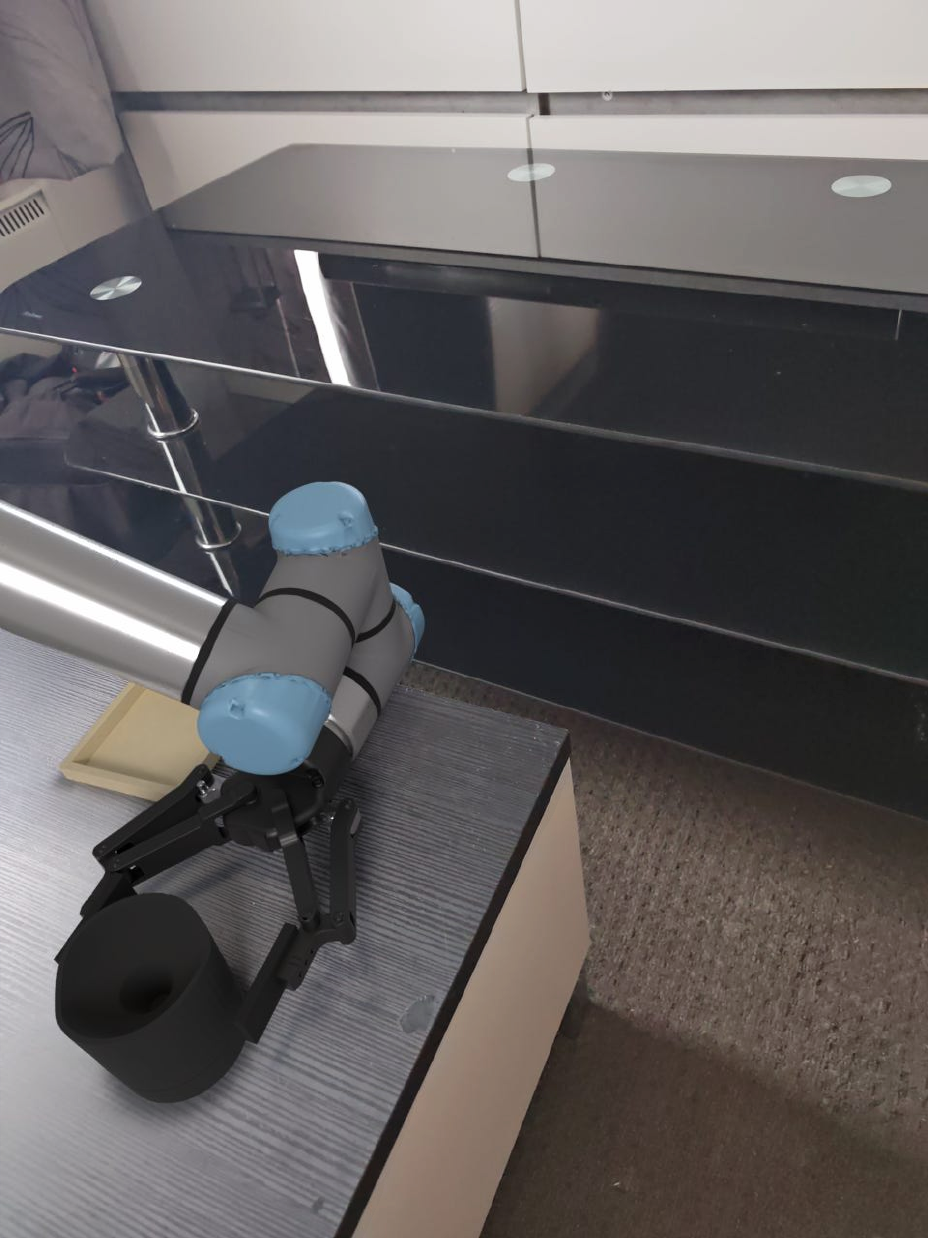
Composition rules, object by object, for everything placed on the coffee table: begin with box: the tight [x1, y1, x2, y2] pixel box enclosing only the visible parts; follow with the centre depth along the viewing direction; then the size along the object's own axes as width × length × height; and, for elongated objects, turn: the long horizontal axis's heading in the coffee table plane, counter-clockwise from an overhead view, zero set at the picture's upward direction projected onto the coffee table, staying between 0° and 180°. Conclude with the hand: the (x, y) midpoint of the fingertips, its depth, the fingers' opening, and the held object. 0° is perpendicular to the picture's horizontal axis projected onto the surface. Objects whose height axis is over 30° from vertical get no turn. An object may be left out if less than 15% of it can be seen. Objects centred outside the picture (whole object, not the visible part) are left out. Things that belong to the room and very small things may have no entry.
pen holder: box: [54, 892, 247, 1104], centre depth 57 cm, size 9×9×10 cm
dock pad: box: [58, 681, 222, 803], centre depth 81 cm, size 13×13×2 cm
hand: (151, 1001), depth 56 cm, fingers open, 13 cm apart
